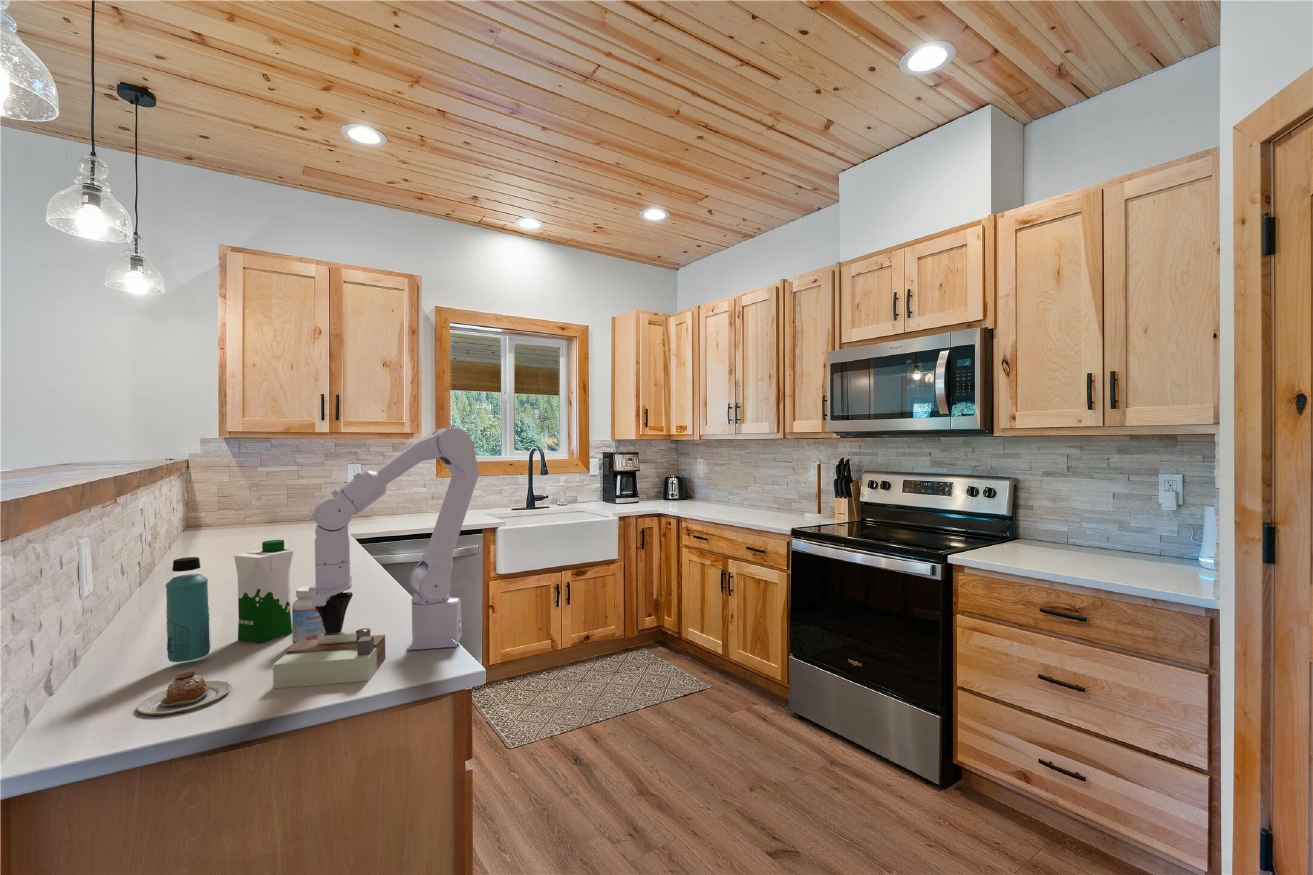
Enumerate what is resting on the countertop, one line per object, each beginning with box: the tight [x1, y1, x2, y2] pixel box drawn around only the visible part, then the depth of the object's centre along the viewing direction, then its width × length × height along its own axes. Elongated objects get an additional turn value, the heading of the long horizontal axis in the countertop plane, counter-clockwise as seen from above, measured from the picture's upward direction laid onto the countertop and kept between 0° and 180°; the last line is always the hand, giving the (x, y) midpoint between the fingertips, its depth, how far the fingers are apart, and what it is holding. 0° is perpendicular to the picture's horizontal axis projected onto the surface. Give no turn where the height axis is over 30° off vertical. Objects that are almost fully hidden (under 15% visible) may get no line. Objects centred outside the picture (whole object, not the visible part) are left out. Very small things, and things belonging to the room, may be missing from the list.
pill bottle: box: [291, 585, 326, 646], centre depth 123 cm, size 6×6×11 cm
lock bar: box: [317, 627, 371, 645], centre depth 109 cm, size 9×2×2 cm, turn 100°
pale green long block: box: [272, 635, 378, 689], centre depth 104 cm, size 15×5×6 cm, turn 100°
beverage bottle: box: [165, 556, 212, 663], centre depth 112 cm, size 6×7×20 cm
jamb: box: [285, 634, 386, 670], centre depth 109 cm, size 15×6×4 cm, turn 100°
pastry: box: [136, 670, 232, 717], centre depth 96 cm, size 12×12×5 cm
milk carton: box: [233, 539, 294, 645], centre depth 127 cm, size 9×9×20 cm
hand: (333, 634), depth 111 cm, fingers closed
